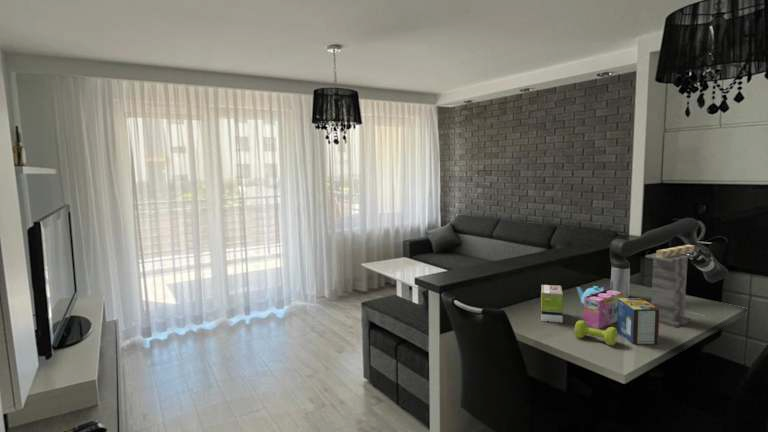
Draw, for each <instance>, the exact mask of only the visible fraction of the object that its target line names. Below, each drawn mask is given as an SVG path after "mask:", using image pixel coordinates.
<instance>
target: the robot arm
mask: <svg viewBox="0 0 768 432" xmlns="http://www.w3.org/2000/svg"><path fill="white" fill-rule="evenodd" d="M699 227H700V223H699V221H698V220H697V219H695V218H693V217H685V218H681V219H679V220H677V221H675V222H673V223H670V224H666V225H664V226H661V227H660V226H659V227H657V228H654V229H651V230H648V231H645V232H644V233H643V234H642V235H641V236H640V237H638V238H634V239H631V240H628V239H622V238H614V239H613V240H612V241H611V242H610V245H609V259H610V264H611V270H610V271H611V273H610V285H609V286H610V288H609V289H612V291H618V292H620V293H621V292H623V298H629V297H630V280H631V279H630V277H631V276H630V275H631V263H630V262H629V261H628V260H627V258H626V257H630V256H632V255H635V254H637V253H639V252H641V251H644V250H647V249H651V248H655V247H658V246H660V245H664V244H666V243H667V242H669V241H670V240H672V239H673V238H675V237H676V236H678V237H679V239H680V240H681V241H683V243H684V245H695V252H690V253H685V254H688V255H694V257H693V258H689V260H690V262H691V264H693V266H695V267H696V268H697V269H698V270H700V271H701V272H702V274H703V276H704V279H705V280H706V281H707V282H710V283H716V282H719V281H721V280H724V279H725V278H727V277H729V274H730V272H729V270H728V268H726V267H725V266H724V265H722V263H720V262H719V261H718V260H717V259H716V258H715V256H714V255H713V253H712V252H711V251H710V249H709V248H708V247H706V246H705V245H703V244H701V243H699V242H698V241H697V240H696V237H695V234H696V232H697V231H698V230H699Z"/></svg>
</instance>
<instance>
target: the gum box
mask: <svg viewBox="0 0 768 432" xmlns="http://www.w3.org/2000/svg"><path fill="white" fill-rule="evenodd" d="M618 298H623V292H621V293H620V292H618V291H612V289H610V288H607V289H604V290H603V291H601V292H598V293H595V294H593V295H589V296H587V297H584V305H583V321H585V322H586V325H587V327H590V326H591V327H590V328H594V329H598V330H601V328H604V327H606V326H609V325H611V324H613V323H617V313H618Z"/></svg>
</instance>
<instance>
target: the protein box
mask: <svg viewBox="0 0 768 432" xmlns="http://www.w3.org/2000/svg"><path fill="white" fill-rule="evenodd" d="M659 310H660V309H658V308H657V307H655V306H653V305H652V304H651V302H649V301H647V300H645V299H644V298H641V297H640V298H638V297H637V298H635V297H632V298H631V297H630V298H618V313H617V321H616V329H617V333H619V334H620V335H621V336H622V337H624V338H625V340H627V341H628V342H629V343H631V344H632V345H659V333H660V332H659V331H660V330H659V329H660V328H659V327H660V323H659Z"/></svg>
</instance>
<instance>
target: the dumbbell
mask: <svg viewBox="0 0 768 432" xmlns="http://www.w3.org/2000/svg"><path fill="white" fill-rule="evenodd" d="M573 330H574V335H575V337H576V338H578V339H583V338H585V337H586V335H589V336H593V337H597V338H602V339H604V342H605V344H606V345H608V346H610V347H611V346H612V347H613V346H615V345H616V344H617V342H618V336H619V335H618V333H619V332H618V331H617V327H614V326H610V327H607V328H606V329H605V330H601V329H597V328H594V327H590V326H587V325H586V322H585V321H584V320H583V319H579V320H577V321H576V322H575V325H574V329H573Z"/></svg>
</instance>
